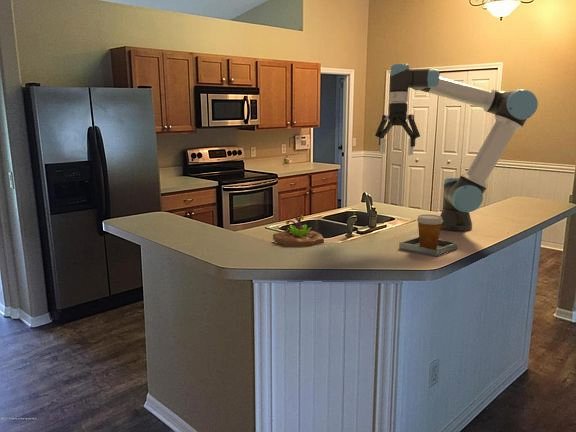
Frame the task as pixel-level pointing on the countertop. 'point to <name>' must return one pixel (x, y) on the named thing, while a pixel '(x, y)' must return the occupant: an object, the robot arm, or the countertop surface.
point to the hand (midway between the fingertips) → (396, 154)
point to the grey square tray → (441, 248)
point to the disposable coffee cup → (429, 230)
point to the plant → (298, 235)
